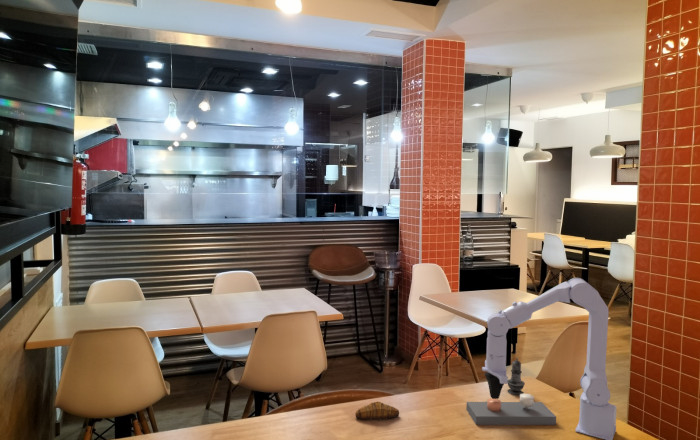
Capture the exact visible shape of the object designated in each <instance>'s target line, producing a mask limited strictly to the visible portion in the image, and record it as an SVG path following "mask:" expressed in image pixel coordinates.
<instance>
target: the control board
mask: <svg viewBox="0 0 700 440" xmlns="http://www.w3.org/2000/svg"><path fill="white" fill-rule="evenodd" d="M465 411H466V412H468V414H469V416H470V418H471V419H472V421H473V423H474V424H475V425H476V426H478V425H481V426H482V425H483V426H487V425H488V426H489V425H491V426H493V425H494V426H497V425H498V426H503V425H504V426H512V425H513V426H519V425H520V426H526V425H527V426H535V425H536V426H557V415H555V414H554V412H552V411H551V410H550V409H549V408H548V407H547V406H546V405H545V404H544V403H543V401H534V405H533V406H532V407H528V410H525V406H523V405H521V404H520V401H501V411H499V412H493V411H490V410H488V409H487V401H466V410H465Z"/></svg>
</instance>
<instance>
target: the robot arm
mask: <svg viewBox="0 0 700 440" xmlns="http://www.w3.org/2000/svg"><path fill="white" fill-rule="evenodd" d="M571 300H572V301H573V302H574V303H575V304H576V305H579V306H580V307H583V308H584V309H585V310H586V311H587V312H588V323H587V325H588V327H587V343H586V344H587V346H586V362H585V363H586V364H585V365H584V369H583V370H584V371H583V374H582V376H581V377H580V380H579V384H580V388H581V389H582V390H583V392H582V393H581V395H580V399H579V400H580V401H579V417H578V423H577V425H576V427H575V429H574V431H575V432H576V433H581V434H583V435H587V436H591V437H593V438H599V439H602V440H613V439H614V436H615V433H616V431H617V405H615V404H612V403H610V399H611V391H610V389H609V387H608V378H607V377H608V376H607V372H606V366H607V349H608V348H607V347H608V343H607V342H608V328H609V327H608V326H609V307H608V305H607V304H606V303H605V301H604V299H603V298H602V297H601V294H600V293H599V291H598V290H597V289H595V288H594V287H593V286H592V285H591V284H589V283H588V282H587V281H586V280H584V279H583V278H580V277H573V278H571V279H569V280H568V281H564V282H561V283H559V284H557V285H556V286H554V287H552V288H550V289H548V290H546V291H545V292H544V293H542V294H540V295H538V296H537V297H535V298H532V299H531V300H529V301H527V302H524V301H518V302H517V301H513V302H512V303H511V305H510V306H509V307H507V308H505V309H503V310H502V309H499V310H498V311H497V312H496V313H492V314H490V315H489V317H488V318H487V321H486V323H487V338H486V357H485V358H486V359H485V360H484V366H482V367H481V370H482V371H483V372H484V376H485V378H486V381H487V385H488V389H489V390H488V391H489V395H490V399H491V398H492V399H498V400H500V396H501V393H502V390H503V387H504V385H505V384H507V385H508V383H507V382H508V379H509V378H508V375H507V367H506V366H507V344H508V343H507V342H508V341H507V333H508V331H509V330H510V329H513V328H515V327H517V326H520V325H521V324H522V323H525V322H527V321H529V320H531V319H532V316H533V313H535V312H538V311H539V310H542V309H544V308H546V307H549V306H551V305H553V304H555V303H558V302H561V303H567V304H568V303H569V304H570V303H571Z"/></svg>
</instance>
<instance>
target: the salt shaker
mask: <svg viewBox="0 0 700 440" xmlns="http://www.w3.org/2000/svg"><path fill="white" fill-rule="evenodd" d="M510 372H511V377H510V378H508V382H507V387H509V389H507V390H506V392H507V393H508V394H510V395H513V396H519V397H520V394H525V393H524V392H523V391H522V390H523V389H524V387H525V385H526V384H525V382H524V381H523V380H522V377H521V375H522V373H523V372H522V363H521V362H520V361H519V358H515V360H513V361H512V365H511V369H510Z"/></svg>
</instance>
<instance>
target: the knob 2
mask: <svg viewBox="0 0 700 440" xmlns="http://www.w3.org/2000/svg"><path fill="white" fill-rule="evenodd" d="M534 399H535V397H534V395H532V394H531V393H524V394H520V396H519V402H520V404H521V405H523V406H525V410H528V407H532V406H533V405H534V402H535V400H534Z"/></svg>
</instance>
